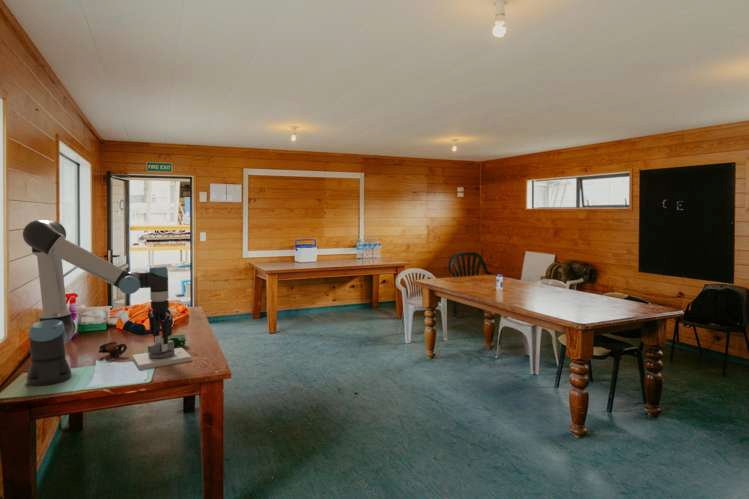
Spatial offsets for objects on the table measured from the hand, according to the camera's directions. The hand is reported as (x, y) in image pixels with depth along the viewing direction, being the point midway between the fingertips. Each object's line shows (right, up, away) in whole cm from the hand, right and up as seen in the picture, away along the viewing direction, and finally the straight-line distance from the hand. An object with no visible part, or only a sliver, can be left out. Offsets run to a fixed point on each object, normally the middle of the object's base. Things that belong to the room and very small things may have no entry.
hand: (161, 350), depth 222 cm
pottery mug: (-25, -4, +5) cm, 26 cm away
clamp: (-3, -3, +21) cm, 21 cm away
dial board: (0, -4, 0) cm, 5 cm away
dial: (0, -2, 0) cm, 2 cm away
